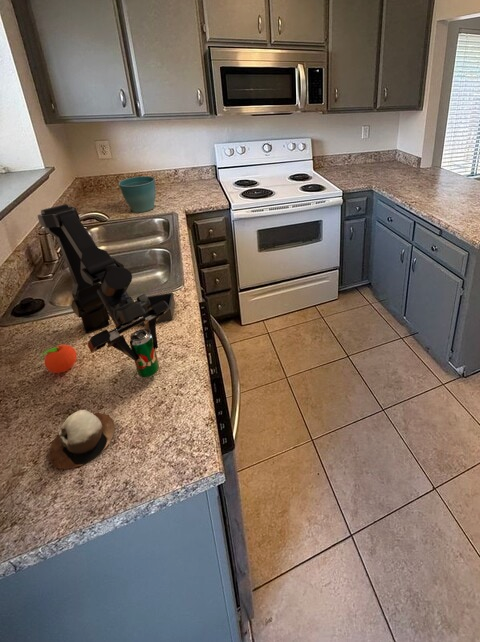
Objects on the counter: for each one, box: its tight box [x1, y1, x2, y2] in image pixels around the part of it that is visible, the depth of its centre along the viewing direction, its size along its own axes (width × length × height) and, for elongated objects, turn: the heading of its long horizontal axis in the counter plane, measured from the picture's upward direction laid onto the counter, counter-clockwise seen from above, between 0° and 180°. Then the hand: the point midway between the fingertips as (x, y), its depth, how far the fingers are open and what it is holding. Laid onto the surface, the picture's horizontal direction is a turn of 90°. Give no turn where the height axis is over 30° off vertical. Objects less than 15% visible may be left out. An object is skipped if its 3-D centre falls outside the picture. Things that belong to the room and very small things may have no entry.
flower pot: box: [118, 175, 157, 213], centre depth 201 cm, size 18×18×17 cm
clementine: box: [39, 344, 78, 374], centre depth 95 cm, size 8×7×7 cm
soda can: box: [129, 328, 160, 379], centre depth 90 cm, size 5×5×12 cm
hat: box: [48, 409, 116, 470], centre depth 77 cm, size 12×10×10 cm
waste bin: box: [140, 292, 176, 326], centre depth 117 cm, size 9×9×4 cm
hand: (146, 354), depth 89 cm, fingers closed on soda can, 5 cm apart
